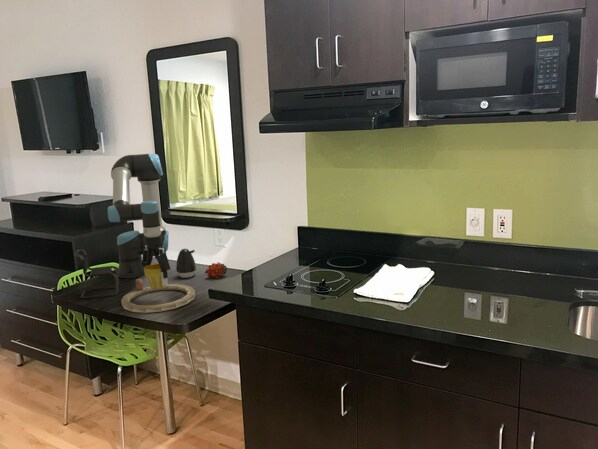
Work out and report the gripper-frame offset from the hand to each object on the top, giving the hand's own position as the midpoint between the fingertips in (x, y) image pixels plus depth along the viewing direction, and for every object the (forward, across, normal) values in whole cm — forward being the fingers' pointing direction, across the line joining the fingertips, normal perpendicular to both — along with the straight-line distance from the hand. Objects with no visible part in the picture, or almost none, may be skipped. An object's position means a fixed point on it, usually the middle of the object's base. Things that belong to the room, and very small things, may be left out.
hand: (157, 282), depth 223 cm
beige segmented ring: (+8, 0, 0) cm, 8 cm away
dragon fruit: (+8, -2, +38) cm, 39 cm away
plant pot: (+2, 0, 0) cm, 2 cm away
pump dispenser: (+8, -17, +31) cm, 36 cm away
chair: (+8, -33, -9) cm, 35 cm away
